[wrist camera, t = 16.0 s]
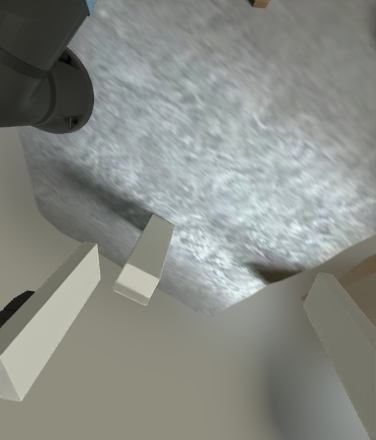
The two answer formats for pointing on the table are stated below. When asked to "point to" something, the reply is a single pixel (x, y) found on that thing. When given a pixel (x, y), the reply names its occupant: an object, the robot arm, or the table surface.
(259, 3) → the footstool
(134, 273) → the milk
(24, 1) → the robot arm
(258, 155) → the table surface
